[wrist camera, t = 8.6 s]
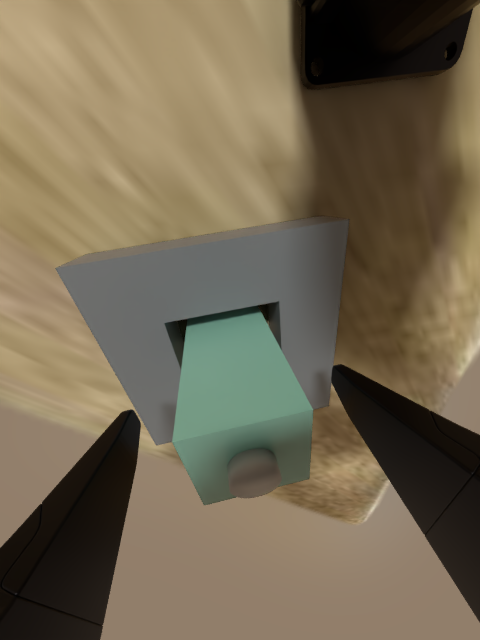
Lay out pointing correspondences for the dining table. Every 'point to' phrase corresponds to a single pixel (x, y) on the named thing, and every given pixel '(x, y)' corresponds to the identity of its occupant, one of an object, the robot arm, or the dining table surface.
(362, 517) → the dining table surface
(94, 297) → the plate
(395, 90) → the dining table surface
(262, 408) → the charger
